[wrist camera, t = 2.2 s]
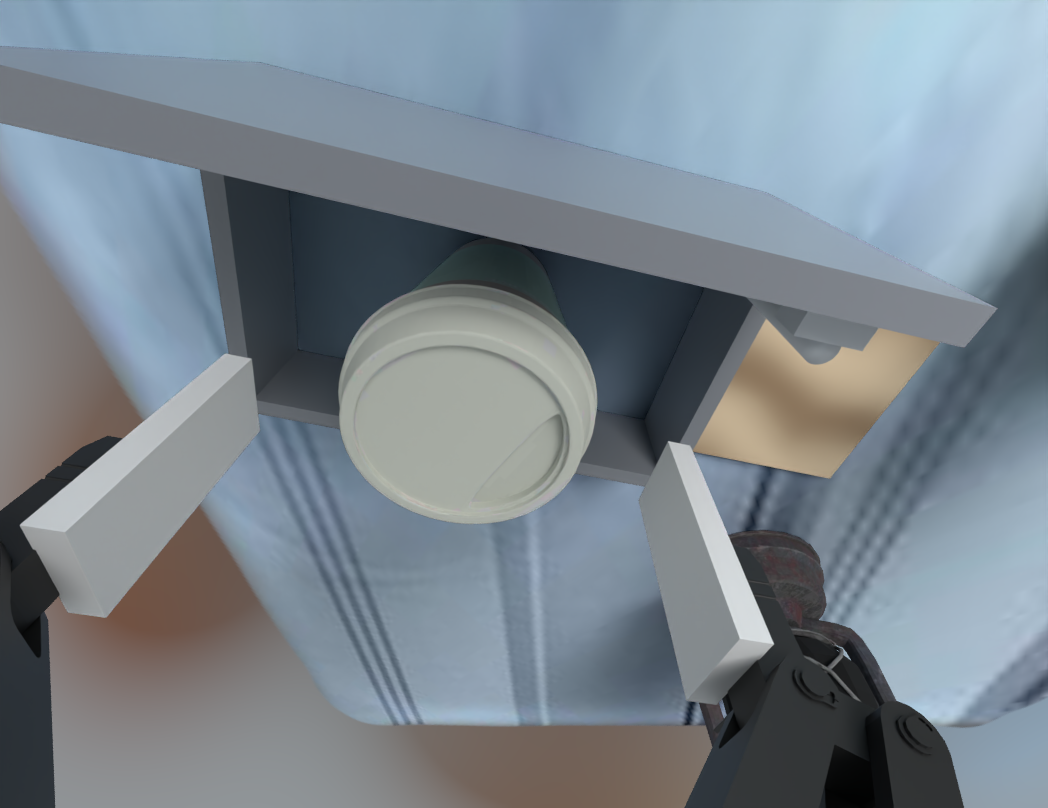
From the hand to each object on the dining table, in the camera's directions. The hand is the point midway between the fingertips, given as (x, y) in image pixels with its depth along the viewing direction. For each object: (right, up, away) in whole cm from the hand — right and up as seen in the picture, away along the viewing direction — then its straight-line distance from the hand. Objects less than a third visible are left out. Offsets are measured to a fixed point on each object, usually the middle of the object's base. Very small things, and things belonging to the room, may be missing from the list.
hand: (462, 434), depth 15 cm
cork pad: (+18, +1, +12) cm, 21 cm away
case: (+1, +7, +9) cm, 11 cm away
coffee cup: (+1, +7, +9) cm, 11 cm away
